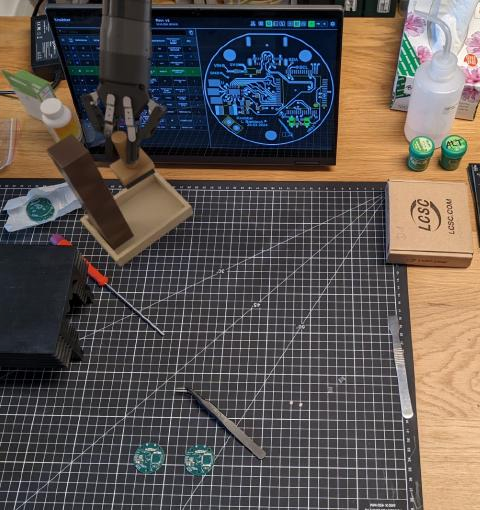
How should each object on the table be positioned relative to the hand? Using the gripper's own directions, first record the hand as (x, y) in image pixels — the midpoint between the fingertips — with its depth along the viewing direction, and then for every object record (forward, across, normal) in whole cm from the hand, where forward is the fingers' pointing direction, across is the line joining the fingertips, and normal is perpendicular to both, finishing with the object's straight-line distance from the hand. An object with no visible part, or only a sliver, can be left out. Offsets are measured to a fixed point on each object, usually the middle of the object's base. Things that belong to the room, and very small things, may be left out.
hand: (122, 161), depth 100 cm
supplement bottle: (+3, -22, +25) cm, 33 cm away
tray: (+14, -2, +13) cm, 19 cm away
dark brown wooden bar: (+16, -5, +10) cm, 20 cm away
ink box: (-1, -29, +28) cm, 40 cm away
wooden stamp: (+3, 0, +6) cm, 7 cm away
